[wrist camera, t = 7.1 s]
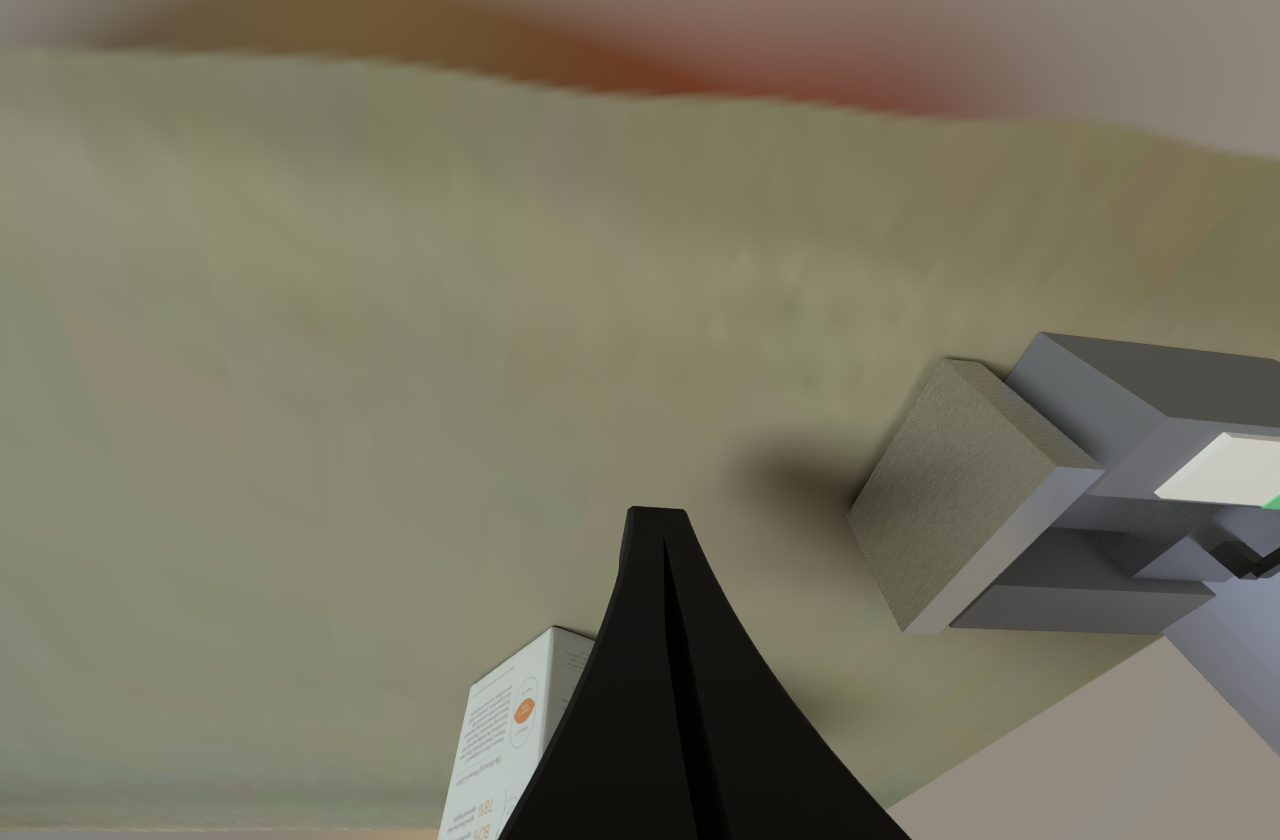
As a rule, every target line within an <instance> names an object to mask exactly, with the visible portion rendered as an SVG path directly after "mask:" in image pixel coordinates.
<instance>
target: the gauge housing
mask: <svg viewBox="0 0 1280 840" xmlns="http://www.w3.org/2000/svg"><path fill="white" fill-rule="evenodd" d="M1004 383H1005V384H1006V385H1007V386H1008V387H1009V388H1010V389H1012V390H1013V391H1014V392H1015V393H1016V394H1017V395H1019V396H1020V397H1021V398H1022V399H1023V400H1024V401H1026V402H1027V403H1028V404H1029V405H1030V406H1032V407H1033V408H1034V409H1035V410H1036V411H1037V412H1039V413H1040V414H1041V415H1042V416H1043V417H1044V418H1046V419H1047V420H1048V421H1049V422H1050V423H1051V424H1053V425H1054V426H1055V427H1056V428H1057V429H1058V430H1060V431H1061V432H1062V433H1063V434H1064V435H1065V436H1067V437H1068V438H1069V439H1070V440H1071V441H1072V442H1074V443H1075V444H1076V445H1077V446H1078V447H1080V448H1081V449H1082V450H1083V451H1084V452H1085V453H1087V454H1088V455H1089V456H1090V457H1091V458H1092V459H1094V460H1095V461H1096V462H1097V463H1098V464H1099V465H1101V466H1102V467H1103V468H1104V469H1105V470H1106V471H1105V472H1104V473H1103V474H1102V475H1101V476H1100V477H1099V478H1098V479H1097V480H1096V481H1095V482H1094V483H1093V484H1092V485H1091V486H1090V487H1089V488H1088V489H1087V490H1086V491H1085V493H1086V494H1087V495H1096V496H1110V497H1124V498H1137V499H1151V500H1165V501H1179V502H1192V503H1206V504H1220V505H1233V506H1247V507H1261V508H1266V509H1280V363H1279V362H1277V361H1275V360H1273V359H1266V358H1257V357H1249V356H1240V355H1231V354H1223V353H1214V352H1206V351H1197V350H1188V349H1180V348H1171V347H1163V346H1154V345H1146V344H1137V343H1128V342H1120V341H1111V340H1103V339H1094V338H1086V337H1077V336H1068V335H1060V334H1051V333H1043V332H1040V333H1039V334H1038V336H1037V337H1036V339H1035V340H1034V341H1033V343H1032V344H1031V345H1030V347H1029V348H1028V350H1027V351H1026V352H1025V354H1024V355H1023V356H1022V358H1021V359H1020V361H1019V362H1018V363H1017V365H1016V366H1015V367H1014V369H1013V370H1012V372H1011V373H1010V374H1009V376H1008V377H1007V379H1006V380H1005V381H1004ZM1216 596H1217V595H1216V594H1215V593H1214V592H1213V591H1212V590H1211V589H1209V588H1208V587H1207V586H1206V585H1205V584H1204V583H1203V582H1202V581H1186V580H1167V579H1147V578H1131V577H1130V576H1129V575H1128V574H1127V573H1126V572H1125V571H1124V570H1123V569H1122V568H1121V567H1120V566H1119V565H1118V564H1117V563H1116V562H1115V561H1114V560H1113V559H1112V558H1111V557H1110V556H1109V555H1108V554H1107V553H1106V552H1105V551H1104V550H1103V549H1102V547H1101V546H1100V545H1099V544H1098V543H1097V542H1096V541H1095V540H1094V539H1093V538H1092V537H1091V536H1090V535H1089V534H1088V533H1087V532H1086V531H1085V530H1084V529H1071V528H1056V527H1048V528H1047V529H1046V530H1045V531H1044V532H1043V533H1042V534H1040V535H1039V536H1038V537H1037V538H1036V539H1035V540H1034V541H1033V542H1032V543H1031V544H1030V545H1029V546H1028V547H1027V548H1026V549H1025V550H1024V551H1023V552H1022V553H1021V554H1020V555H1019V556H1018V557H1017V558H1016V559H1015V560H1014V561H1013V562H1012V563H1011V564H1010V565H1009V566H1008V567H1007V568H1006V569H1005V570H1004V571H1003V572H1002V573H1001V574H1000V575H999V576H997V577H996V578H995V579H994V580H993V581H992V582H991V583H990V584H989V585H988V586H987V587H986V588H985V589H984V590H983V591H982V592H981V593H980V594H979V595H978V596H977V597H976V598H975V599H974V600H973V601H972V602H971V603H970V604H969V605H968V606H967V607H966V608H965V609H964V610H963V611H962V612H961V613H960V614H959V615H958V616H957V617H956V618H954V619H953V620H952V621H951V622H950V623H949V626H950V628H979V629H1007V630H1036V631H1065V632H1094V633H1123V634H1151V635H1156V634H1157V633H1159V632H1161V631H1162V630H1164V629H1165V628H1167V627H1168V626H1170V625H1172V624H1173V623H1175V622H1176V621H1178V620H1179V619H1181V618H1183V617H1184V616H1186V615H1187V614H1189V613H1190V612H1192V611H1194V610H1195V609H1197V608H1198V607H1200V606H1201V605H1203V604H1205V603H1206V602H1208V601H1209V600H1211V599H1213V598H1214V597H1216Z"/></svg>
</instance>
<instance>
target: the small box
mask: <svg viewBox="0 0 1280 840" xmlns="http://www.w3.org/2000/svg"><path fill="white" fill-rule="evenodd" d="M594 643H595V641H593V640H591V639H588V638H585V637H583V636H580V635H577V634H575V633H572V632H569V631H566V630H563V629H560V628H557V627H551V628H550V629H549V630H547V631H546V632H545V633H543V634H542V635H541V636H539V637H538V638H537V639H535V640H534V641H533V642H531V643H530V644H529V645H527V646H526V647H525V648H523V649H522V650H520V651H519V652H518V653H516V654H515V655H514V656H512V657H511V658H509V659H508V660H507V661H505V662H504V663H503V664H501V665H500V666H499V667H497V668H496V669H495V670H493V671H492V672H491V673H489V674H488V675H486V676H485V677H484V678H482V679H481V680H480V681H478V682H477V683H476V684H474V685H473V686H472V687H471V689H470V694H469V699H468V704H467V709H466V713H465V717H464V722H463V726H462V731H461V735H460V740H459V745H458V750H457V754H456V759H455V764H454V768H453V773H452V778H451V782H450V787H449V791H448V796H447V800H446V804H445V809H444V813H443V818H442V822H441V827H440V832H439V836H438V840H498V837H499V835H500V833H501V832H502V830H503V828H504V826H505V824H506V823H507V821H508V819H509V817H510V815H511V813H512V812H513V810H514V808H515V806H516V804H517V803H518V801H519V799H520V797H521V795H522V794H523V792H524V790H525V788H526V786H527V785H528V783H529V781H530V779H531V777H532V775H533V773H534V771H535V770H536V768H537V766H538V764H539V762H540V760H541V758H542V756H543V754H544V752H545V750H546V748H547V746H548V744H549V742H550V740H551V738H552V736H553V734H554V732H555V730H556V728H557V726H558V724H559V722H560V720H561V718H562V716H563V714H564V712H565V710H566V707H567V705H568V703H569V701H570V699H571V697H572V694H573V692H574V690H575V688H576V685H577V683H578V681H579V679H580V676H581V674H582V672H583V670H584V667H585V665H586V663H587V660H588V658H589V655H590V653H591V651H592V648H593V646H594Z"/></svg>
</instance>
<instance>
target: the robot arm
mask: <svg viewBox="0 0 1280 840" xmlns="http://www.w3.org/2000/svg"><path fill="white" fill-rule="evenodd" d="M1278 548H1279V547H1278ZM1275 550H1276V549H1275ZM1272 552H1273V551H1272ZM1269 554H1270V553H1269ZM1202 582H1203V583H1204V584H1205V585H1206V586H1207V587H1208V588H1209V589H1211V590H1212V591H1213V592H1214V593H1215V594H1216V595H1217V596H1216V597H1214V598H1213V599H1211V600H1209V601H1208V602H1206V603H1205V604H1203V605H1201V606H1200V607H1198V608H1197V609H1195V610H1194V611H1192V612H1190V613H1189V614H1187V615H1186V616H1184V617H1183V618H1181V619H1179V620H1178V621H1176V622H1175V623H1173V624H1172V625H1170V626H1168V627H1167V628H1165V629H1164V630H1162V631H1161V632H1162V633H1163V634H1164V635H1165V636H1166V637H1167V638H1168V639H1169V640H1170V641H1171V642H1172V643H1173V644H1174V645H1175V646H1176V648H1177V649H1178V650H1179V651H1180V652H1181V653H1182V654H1183V655H1184V656H1185V657H1186V658H1187V659H1188V660H1189V661H1190V662H1191V663H1192V665H1194V667H1195V668H1196V669H1197V670H1198V671H1199V672H1200V673H1201V674H1202V675H1203V676H1204V677H1205V678H1206V679H1207V681H1208V682H1209V683H1210V684H1211V685H1212V686H1213V687H1214V688H1215V689H1216V690H1217V691H1218V692H1219V693H1220V694H1221V695H1222V696H1223V697H1224V699H1225V700H1226V701H1227V702H1228V703H1229V704H1230V705H1231V706H1232V707H1233V708H1234V709H1235V710H1236V711H1237V712H1238V713H1239V714H1240V716H1241V717H1242V718H1243V719H1244V720H1245V721H1246V722H1247V723H1248V724H1249V725H1250V726H1251V727H1252V728H1253V729H1254V730H1255V731H1256V733H1257V734H1258V735H1259V736H1260V737H1261V738H1262V739H1263V740H1264V741H1265V742H1266V743H1267V744H1268V745H1269V746H1270V747H1271V749H1272V750H1273V751H1274V752H1275V753H1276V754H1277V755H1278V756H1279V757H1280V572H1279V573H1277V574H1276V575H1274V576H1272V577H1271V578H1259V579H1258V580H1245V579H1238V578H1237V577H1236V576H1234V577H1232V578H1231V579H1229V580H1227V581H1226V582H1206V581H1202ZM498 840H912V839H911V838H910V837H909V836H908V835H907V834H906V833H905V832H904V831H903V830H902V829H901V828H900V826H899V825H898V824H897V823H896V822H895V821H894V820H893V819H892V818H891V817H890V816H889V815H888V814H887V813H886V811H885V810H884V809H883V808H882V807H881V806H880V805H879V804H878V803H877V802H876V800H875V799H874V798H873V797H872V796H871V795H870V794H869V793H868V792H867V790H866V789H865V788H864V787H863V786H862V785H861V784H860V783H859V782H858V780H857V779H856V778H855V777H854V776H853V774H852V773H851V772H850V771H849V770H848V769H847V767H846V766H845V765H844V764H843V763H842V762H841V760H840V759H839V758H838V757H837V756H836V755H835V753H834V752H833V751H832V750H831V749H830V747H829V746H828V745H827V744H826V742H825V741H824V740H823V739H822V737H821V736H820V735H819V733H818V732H817V731H816V730H815V728H814V727H813V726H812V725H811V723H810V722H809V721H808V720H807V718H806V717H805V716H804V714H803V713H802V712H801V711H800V709H799V708H798V707H797V706H796V704H795V703H794V702H793V700H792V699H791V698H790V696H789V695H788V693H787V692H786V691H785V689H784V688H783V686H782V685H781V684H780V682H779V681H778V680H777V678H776V677H775V675H774V674H773V672H772V671H771V669H770V668H769V667H768V665H767V664H766V662H765V661H764V659H763V658H762V656H761V655H760V653H759V652H758V650H757V649H756V647H755V645H754V644H753V642H752V641H751V639H750V637H749V636H748V634H747V633H746V631H745V629H744V628H743V626H742V624H741V623H740V621H739V619H738V617H737V616H736V614H735V612H734V611H733V609H732V607H731V605H730V604H729V602H728V600H727V598H726V596H725V594H724V592H723V591H722V589H721V587H720V585H719V583H718V581H717V579H716V577H715V575H714V573H713V571H712V569H711V567H710V565H709V563H708V561H707V559H706V557H705V555H704V553H703V551H702V549H701V546H700V544H699V542H698V540H697V537H696V535H695V533H694V530H693V528H692V525H691V523H690V520H689V518H688V515H687V513H686V512H685V511H684V510H683V509H671V508H657V507H642V506H632V507H630V508H629V509H628V511H627V517H626V522H625V528H624V533H623V539H622V545H621V550H620V557H619V571H618V576H617V580H616V583H615V587H614V590H613V593H612V596H611V599H610V602H609V605H608V608H607V610H606V613H605V616H604V619H603V622H602V625H601V628H600V630H599V633H598V635H597V638H596V641H595V643H594V646H593V648H592V651H591V653H590V655H589V658H588V660H587V663H586V665H585V667H584V670H583V672H582V674H581V676H580V679H579V681H578V683H577V685H576V688H575V690H574V692H573V694H572V697H571V699H570V701H569V703H568V705H567V707H566V710H565V712H564V714H563V716H562V718H561V720H560V722H559V724H558V726H557V728H556V730H555V732H554V734H553V736H552V738H551V740H550V742H549V744H548V746H547V748H546V750H545V752H544V754H543V756H542V758H541V760H540V762H539V764H538V766H537V768H536V770H535V771H534V773H533V775H532V777H531V779H530V781H529V783H528V785H527V786H526V788H525V790H524V792H523V794H522V795H521V797H520V799H519V801H518V803H517V804H516V806H515V808H514V810H513V812H512V813H511V815H510V817H509V819H508V821H507V823H506V824H505V826H504V828H503V830H502V832H501V833H500V835H499V837H498Z"/></svg>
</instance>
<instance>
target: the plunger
mask: <svg viewBox="0 0 1280 840" xmlns="http://www.w3.org/2000/svg"><path fill="white" fill-rule="evenodd" d="M1105 471H1106V470H1105V469H1104V468H1103V467H1102V466H1101V465H1099V464H1098V463H1097V462H1096V461H1095V460H1094V459H1092V458H1091V457H1090V456H1089V455H1088V454H1087V453H1085V452H1084V451H1083V450H1082V449H1081V448H1080V447H1078V446H1077V445H1076V444H1075V443H1074V442H1072V441H1071V440H1070V439H1069V438H1068V437H1067V436H1065V435H1064V434H1063V433H1062V432H1061V431H1060V430H1058V429H1057V428H1056V427H1055V426H1054V425H1053V424H1051V423H1050V422H1049V421H1048V420H1047V419H1046V418H1044V417H1043V416H1042V415H1041V414H1040V413H1039V412H1037V411H1036V410H1035V409H1034V408H1033V407H1032V406H1030V405H1029V404H1028V403H1027V402H1026V401H1024V400H1023V399H1022V398H1021V397H1020V396H1019V395H1017V394H1016V393H1015V392H1014V391H1013V390H1012V389H1010V388H1009V387H1008V386H1007V385H1006V384H1005V383H1003V382H1002V381H1001V380H1000V379H999V378H998V377H996V376H995V375H994V374H993V373H992V372H991V371H989V370H988V369H987V368H986V367H985V366H984V365H982V364H981V363H980V362H971V361H961V360H952V359H943V358H942V360H941V361H940V363H939V365H938V366H937V368H936V370H935V371H934V373H933V375H932V376H931V378H930V380H929V381H928V383H927V384H926V386H925V388H924V389H923V391H922V393H921V394H920V396H919V398H918V399H917V401H916V403H915V404H914V406H913V407H912V409H911V411H910V412H909V414H908V416H907V417H906V419H905V421H904V422H903V424H902V426H901V427H900V429H899V430H898V432H897V434H896V435H895V437H894V439H893V440H892V442H891V444H890V445H889V447H888V449H887V450H886V452H885V453H884V455H883V457H882V458H881V460H880V462H879V463H878V465H877V467H876V468H875V470H874V472H873V473H872V475H871V477H870V478H869V480H868V481H867V483H866V485H865V486H864V488H863V490H862V491H861V493H860V495H859V496H858V498H857V500H856V501H855V503H854V504H853V506H852V508H851V509H850V511H849V513H848V514H847V516H846V520H847V522H848V524H849V526H850V528H851V530H852V532H853V534H854V536H855V538H856V540H857V542H858V544H859V546H860V548H861V550H862V552H863V554H864V557H865V559H866V561H867V563H868V565H869V567H870V569H871V571H872V573H873V575H874V577H875V579H876V581H877V583H878V585H879V587H880V589H881V591H882V593H883V595H884V597H885V599H886V601H887V603H888V605H889V607H890V609H891V611H892V613H893V615H894V617H895V619H896V622H897V624H898V626H899V628H900V630H901V632H902V633H916V634H939V633H940V632H941V631H942V630H943V629H944V628H945V627H946V626H947V625H948V624H949V623H950V622H951V621H952V620H953V619H954V618H956V617H957V616H958V615H959V614H960V613H961V612H962V611H963V610H964V609H965V608H966V607H967V606H968V605H969V604H970V603H971V602H972V601H973V600H974V599H975V598H976V597H977V596H978V595H979V594H980V593H981V592H982V591H983V590H984V589H985V588H986V587H987V586H988V585H989V584H990V583H991V582H992V581H993V580H994V579H995V578H996V577H997V576H999V575H1000V574H1001V573H1002V572H1003V571H1004V570H1005V569H1006V568H1007V567H1008V566H1009V565H1010V564H1011V563H1012V562H1013V561H1014V560H1015V559H1016V558H1017V557H1018V556H1019V555H1020V554H1021V553H1022V552H1023V551H1024V550H1025V549H1026V548H1027V547H1028V546H1029V545H1030V544H1031V543H1032V542H1033V541H1034V540H1035V539H1036V538H1037V537H1038V536H1039V535H1040V534H1042V533H1043V532H1044V531H1045V530H1046V529H1047V528H1048V527H1056V528H1071V529H1084V530H1085V531H1086V532H1087V533H1088V534H1089V535H1090V536H1091V537H1092V538H1093V539H1094V540H1095V541H1096V542H1097V543H1098V544H1099V545H1100V546H1101V547H1102V549H1103V550H1104V551H1105V552H1106V553H1107V554H1108V555H1109V556H1110V557H1111V558H1112V559H1113V560H1114V561H1115V562H1116V563H1117V564H1118V565H1119V566H1120V567H1121V568H1122V569H1123V570H1124V571H1125V572H1126V573H1127V574H1128V575H1129V576H1130V577H1131V578H1147V579H1167V580H1186V581H1206V582H1226V581H1227V580H1229V579H1231V578H1232V577H1234V576H1236V577H1237V578H1238V579H1245V580H1258V579H1259V578H1271V577H1272V576H1274V575H1276V574H1277V573H1279V572H1280V509H1266V508H1261V507H1247V506H1233V505H1220V504H1206V503H1192V502H1179V501H1165V500H1151V499H1137V498H1124V497H1110V496H1096V495H1087V494H1086V493H1085V491H1086V490H1087V489H1088V488H1089V487H1090V486H1091V485H1092V484H1093V483H1094V482H1095V481H1096V480H1097V479H1098V478H1099V477H1100V476H1101V475H1102V474H1103V473H1104V472H1105ZM1278 547H1279V548H1278ZM1275 549H1276V550H1275ZM1272 551H1273V552H1272ZM1269 553H1270V554H1269Z"/></svg>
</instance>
